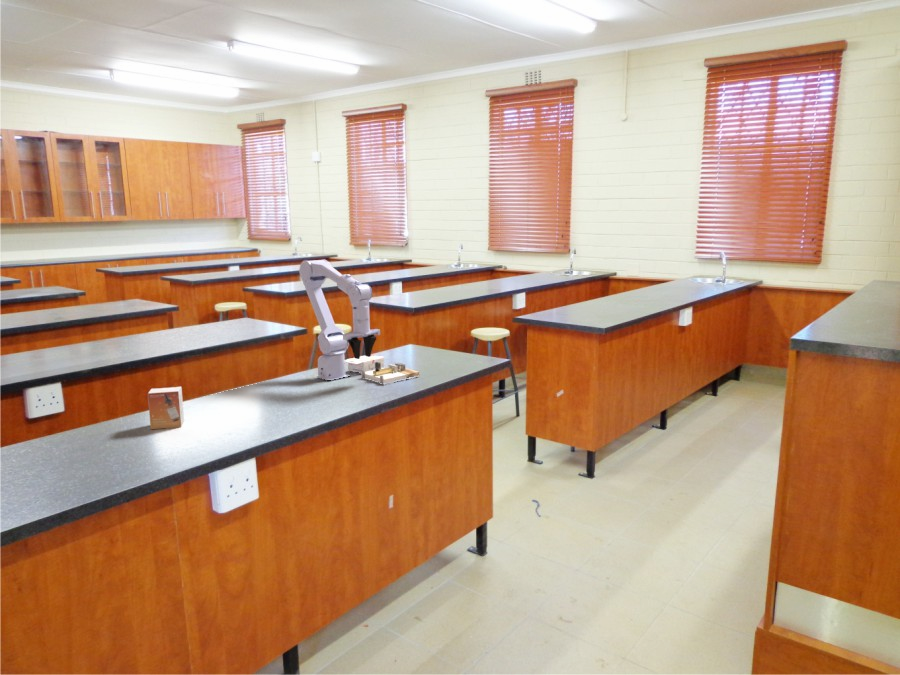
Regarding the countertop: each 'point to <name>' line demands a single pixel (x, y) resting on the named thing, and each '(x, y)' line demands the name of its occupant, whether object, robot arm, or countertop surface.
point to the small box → (166, 407)
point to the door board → (384, 375)
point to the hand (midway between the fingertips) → (362, 357)
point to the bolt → (381, 371)
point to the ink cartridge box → (364, 363)
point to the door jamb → (406, 370)
